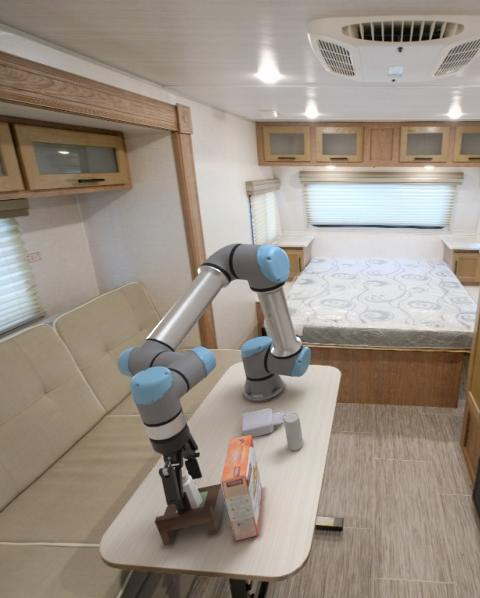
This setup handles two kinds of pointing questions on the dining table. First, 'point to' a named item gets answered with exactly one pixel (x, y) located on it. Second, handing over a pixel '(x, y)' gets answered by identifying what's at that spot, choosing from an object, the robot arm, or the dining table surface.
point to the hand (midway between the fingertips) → (191, 494)
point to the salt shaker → (191, 490)
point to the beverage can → (293, 431)
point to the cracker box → (242, 487)
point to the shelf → (193, 514)
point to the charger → (260, 422)
